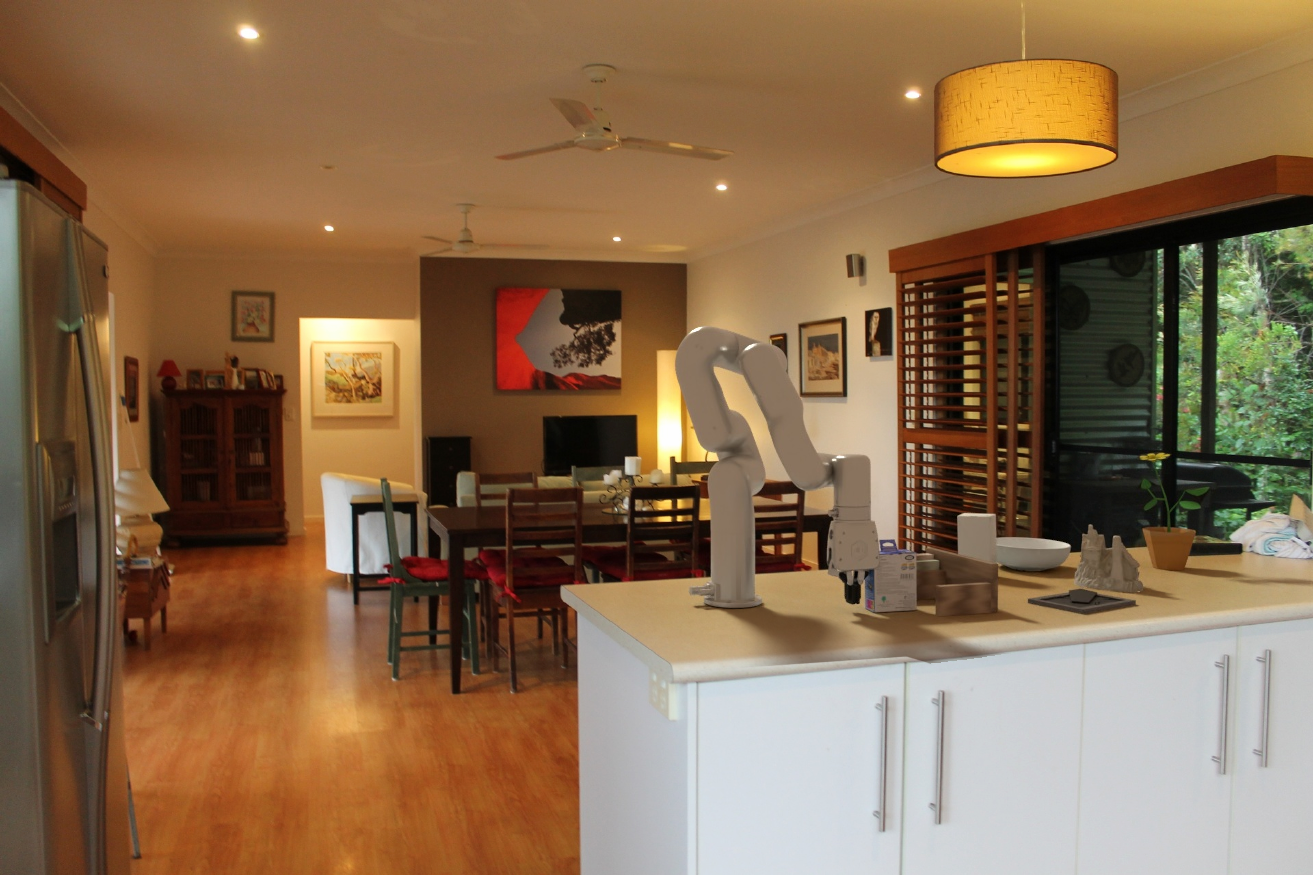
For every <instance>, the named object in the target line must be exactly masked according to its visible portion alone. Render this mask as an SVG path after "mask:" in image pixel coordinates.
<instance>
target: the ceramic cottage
mask: <svg viewBox="0 0 1313 875" xmlns="http://www.w3.org/2000/svg"><path fill="white" fill-rule="evenodd" d="M1087 529H1088V530H1087V534H1085V533H1082V539H1081V540H1082V541H1081V545H1080V546H1081V548H1080V549H1081V550H1080V555H1079V557H1080V561H1079V563H1078V564H1077V569H1076V571H1075V572H1074V581H1073V584H1074V586H1076V585H1078V586H1077V587H1080V588H1084V587H1087V588H1086V589H1090V588H1093V589H1092V590H1100V589H1102V590H1101V591H1110V592H1117V591H1119V593H1138V592H1137V591H1141V592H1143V591H1144V583H1143V582H1142V581H1141V580H1139V577H1140V571H1139V570H1138V568H1139V567H1140V566H1141V564H1140V563H1139V562H1138V561H1137V559H1136V558H1134V556H1133V555H1132V554H1131V553H1130V552H1129V550H1128V549H1127V548H1126V546H1125V545H1124V543H1123V542H1122V537H1121V535H1113V537H1112V547H1109V548H1107V547H1106V540H1105V536H1104V534H1098V531H1097V529H1094V526H1093V524H1088V528H1087Z"/></svg>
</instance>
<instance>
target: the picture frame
mask: <svg viewBox="0 0 1313 875" xmlns="http://www.w3.org/2000/svg"><path fill="white" fill-rule="evenodd" d="M1136 602H1137V600H1136V599H1129V598H1124V597H1118V596H1113V595H1108V594H1102V593H1098V592H1097V591H1093V590H1089V589H1086V588H1084V589H1083V588H1075V589H1069V590H1068V592H1062V593H1055V594H1049V595H1048V594H1047V595H1044V596H1037V597H1031V598H1027V604H1028V605H1029V604H1031V605H1034V606H1041V607H1044V608H1045V607H1046V608H1050V609H1053V610H1054V609H1055V610H1058V611H1063V612H1064V611H1065V612H1070V613H1075V614H1079V615H1086V614H1087V615H1088V614H1093V613H1098V612H1103V611H1109V610H1114V609H1115V610H1116V609H1120V608H1121V609H1122V608H1127V607H1131V606H1136V605H1137V603H1136Z"/></svg>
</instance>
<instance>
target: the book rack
mask: <svg viewBox="0 0 1313 875" xmlns="http://www.w3.org/2000/svg"><path fill="white" fill-rule="evenodd" d="M916 595H917V600H932V599H935V616H938V617H950V616H962V615H963V616H966V615H977V614H978V615H979V614H990V613H992V614H993V613H999V612H998V610H999V608H998V606H999V563H993V562H989V561H985V560H981V559H976V558H972V557H968V556H964V555H960V554H958V553H956V552H952V551H948V550H943V549H939V548H935V547H925V553H916Z"/></svg>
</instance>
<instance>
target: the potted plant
mask: <svg viewBox="0 0 1313 875" xmlns="http://www.w3.org/2000/svg"><path fill="white" fill-rule="evenodd" d="M1170 456H1172V453H1169V452H1168V453H1167V452H1161V451H1156V452H1155V451H1154V452H1148V453H1142V454H1141V453H1140V454H1139V455H1138V456H1137V457H1136V458H1135V459H1136V460H1142V461H1150V462H1152V463H1154V465H1153V466H1154V469H1155V474H1156V477H1157V480H1158V483H1159V485H1158V484H1156V483H1154V482H1153V481H1152V480H1149V479H1147V478H1145V477H1144V478H1143V479H1142V480H1141V481H1140V483H1138V486H1137V487H1136V488H1135V491H1142V490H1147V491H1148V492H1149V493H1150V495H1151V496H1152V498H1153V499H1150V500H1148V501H1147V502H1144V503H1142V504H1140V505H1138V506H1137V508H1139V509H1140V510H1142V511H1145V512H1147V511H1149V510H1150V509H1152V508H1154V507H1157V506H1158V505H1161V504H1163V503H1164V501H1165V505H1166V506H1165V507H1166V511H1167V526H1147V527H1143V528H1142V532H1143V535H1144V539H1145V543H1146V547H1147V551H1148V555H1149V558H1150V560H1151V564H1152V568H1154V567H1155V568H1154V569H1157V570H1163V569H1165V570H1164V571H1183V570H1185V568H1186V565H1187V562H1188V559H1189V556H1190V552H1191V549H1192V546H1193V543H1194V541H1195V540H1194V539H1195V536H1196V533H1197V531H1196V530H1195V529H1190V528H1183V527H1171V515H1170V514H1171V512H1172V511H1173V510H1174V509H1175V507H1177V505H1178V511H1179V512H1178V513H1179V514H1181V513H1184V512H1189V511H1194V510H1199V509H1202V503H1203V501H1204V499H1205V498H1206V496H1207V494H1208V492H1209V490H1210V488H1211V486H1206V487H1195V488H1188V489H1185V490H1183V493H1182V495H1181V496H1180V498H1179V499H1178V501H1177V502H1176V503H1175V504H1174V505H1173V507H1171V508H1169V503H1168V499H1167V495H1166V493H1165V490H1164V487H1163V485H1162V484H1163V483H1162V482H1161V479H1160V477H1159V473H1158V469H1157V465H1156V462H1158V461H1159V460H1165V459H1168V458H1169V457H1170ZM1158 487H1160V488H1161V491H1162V494H1163V498H1162V497H1161V498H1160V497H1156V496H1155V495H1154V493H1152V491H1151V490H1150V489H1154V488H1158ZM1185 493H1187V494H1189V495H1190V496H1191V497H1193V498H1188V499H1183V500H1181V499H1182V498H1183V497H1184V495H1185Z"/></svg>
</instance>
